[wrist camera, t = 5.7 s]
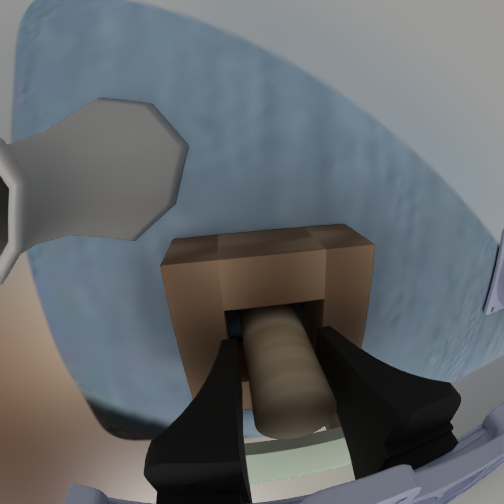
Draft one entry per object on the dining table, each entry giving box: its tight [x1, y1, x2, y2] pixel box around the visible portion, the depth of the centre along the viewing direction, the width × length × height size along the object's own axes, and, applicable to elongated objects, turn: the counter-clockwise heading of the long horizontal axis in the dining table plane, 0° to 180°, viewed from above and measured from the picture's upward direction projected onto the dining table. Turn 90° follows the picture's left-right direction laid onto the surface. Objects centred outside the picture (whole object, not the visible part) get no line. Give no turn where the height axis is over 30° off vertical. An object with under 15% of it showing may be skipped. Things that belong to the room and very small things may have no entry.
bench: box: [244, 413, 352, 484], centre depth 16 cm, size 9×4×6 cm, turn 94°
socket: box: [160, 224, 375, 409], centre depth 15 cm, size 9×9×4 cm
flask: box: [0, 98, 188, 285], centre depth 8 cm, size 7×7×10 cm
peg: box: [239, 303, 337, 439], centre depth 13 cm, size 3×3×8 cm
